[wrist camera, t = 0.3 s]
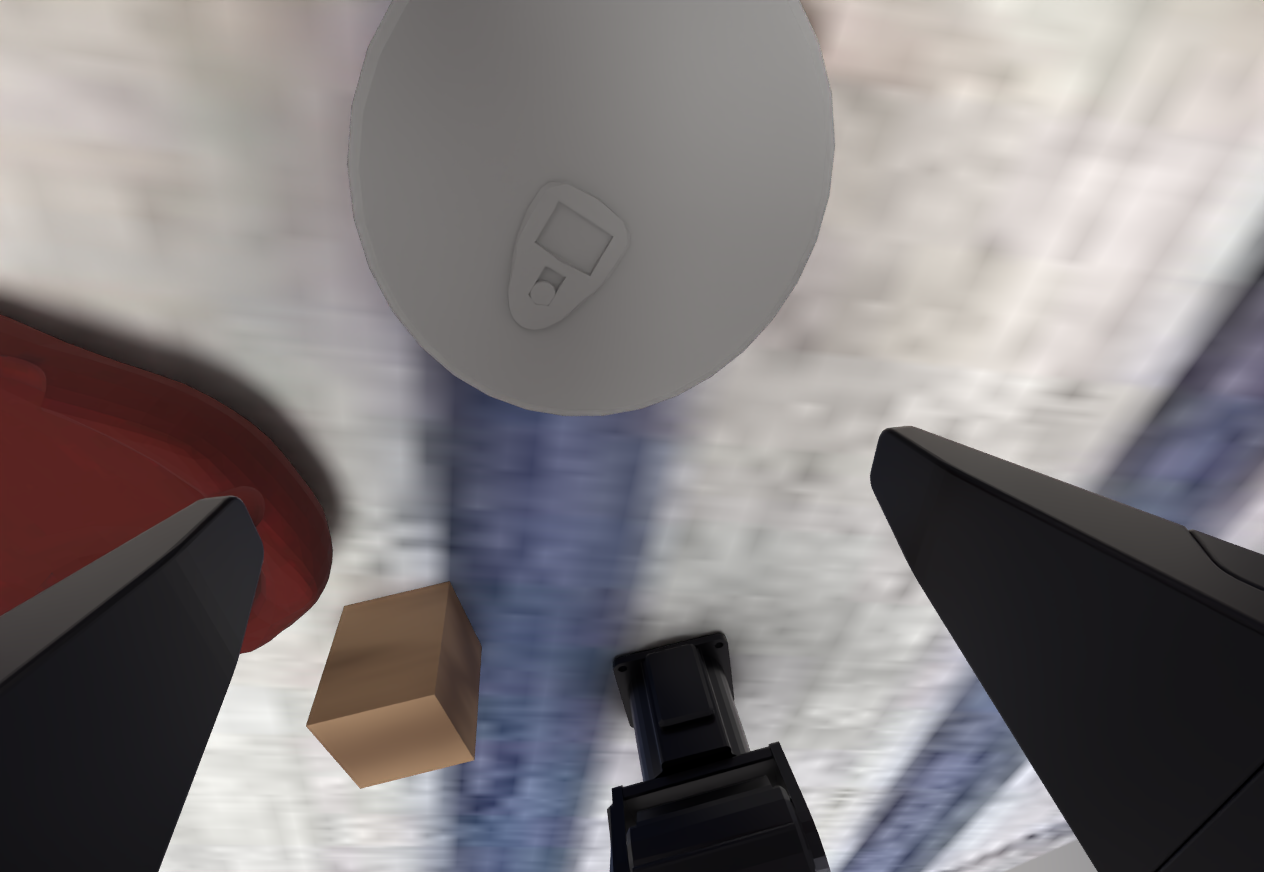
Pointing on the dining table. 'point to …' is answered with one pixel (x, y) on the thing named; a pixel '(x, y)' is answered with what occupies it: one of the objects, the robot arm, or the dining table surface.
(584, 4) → the canned food
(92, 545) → the ashtray
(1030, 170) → the dining table surface
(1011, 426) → the dining table surface
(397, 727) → the walnut block
